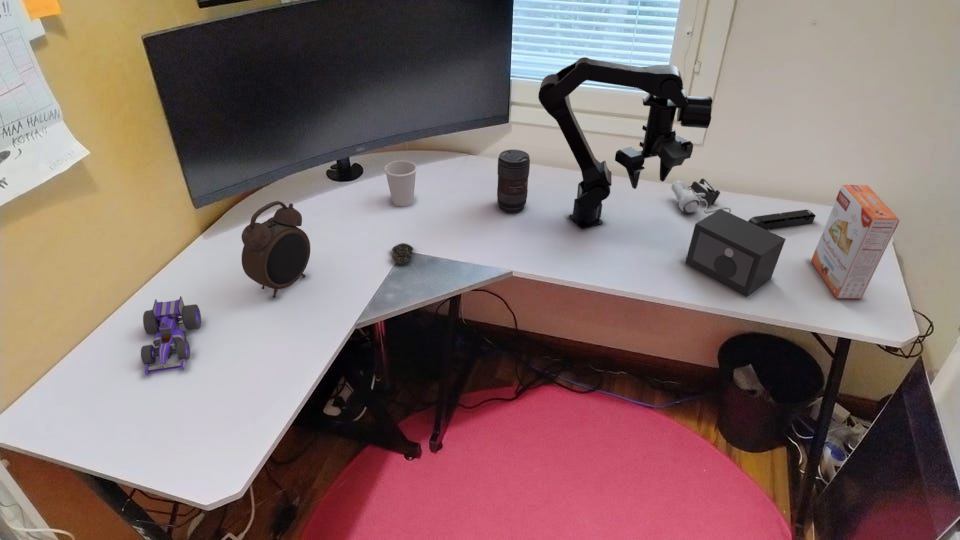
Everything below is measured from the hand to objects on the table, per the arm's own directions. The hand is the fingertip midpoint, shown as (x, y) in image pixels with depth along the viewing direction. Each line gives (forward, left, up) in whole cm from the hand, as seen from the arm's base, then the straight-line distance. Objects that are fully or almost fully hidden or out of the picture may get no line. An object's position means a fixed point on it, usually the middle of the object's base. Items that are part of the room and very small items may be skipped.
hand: (648, 184), depth 149 cm
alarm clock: (-86, +14, -12) cm, 88 cm away
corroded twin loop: (-59, +13, -12) cm, 62 cm away
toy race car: (-110, +4, -12) cm, 111 cm away
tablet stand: (+33, -15, -12) cm, 38 cm away
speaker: (+6, -24, -12) cm, 28 cm away
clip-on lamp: (+19, -1, -12) cm, 23 cm away
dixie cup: (-50, +37, -12) cm, 64 cm away
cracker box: (+26, -37, -12) cm, 47 cm away
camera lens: (-25, +22, -12) cm, 36 cm away
